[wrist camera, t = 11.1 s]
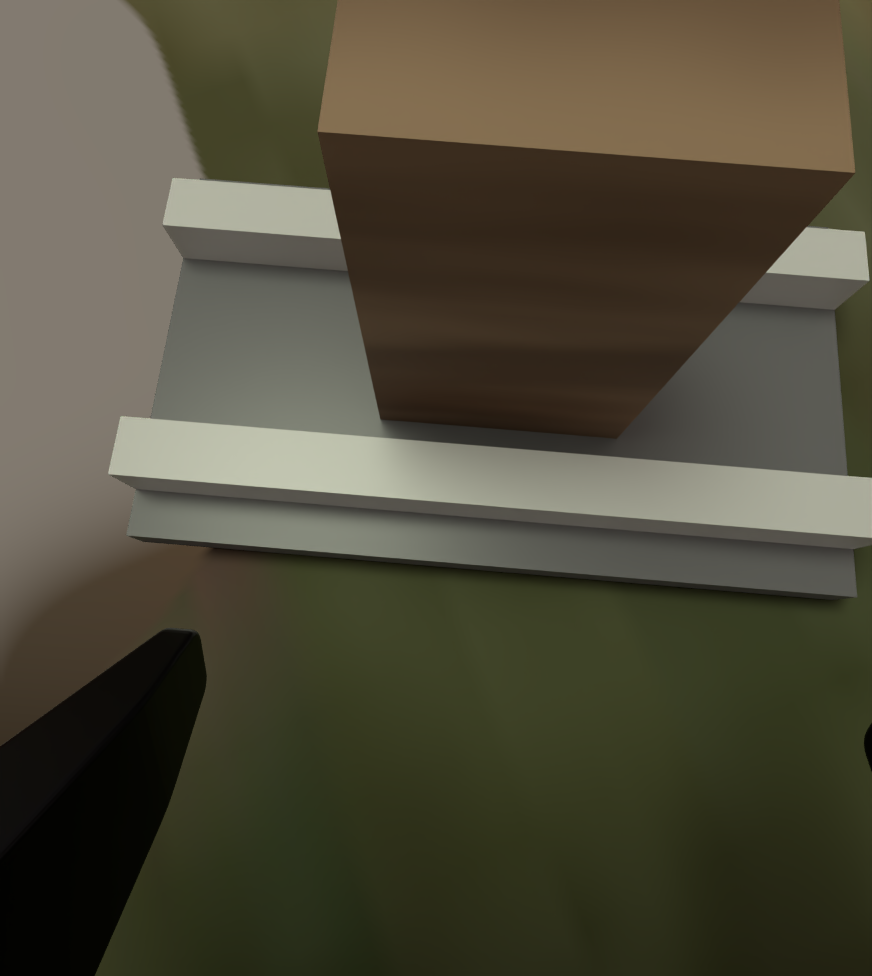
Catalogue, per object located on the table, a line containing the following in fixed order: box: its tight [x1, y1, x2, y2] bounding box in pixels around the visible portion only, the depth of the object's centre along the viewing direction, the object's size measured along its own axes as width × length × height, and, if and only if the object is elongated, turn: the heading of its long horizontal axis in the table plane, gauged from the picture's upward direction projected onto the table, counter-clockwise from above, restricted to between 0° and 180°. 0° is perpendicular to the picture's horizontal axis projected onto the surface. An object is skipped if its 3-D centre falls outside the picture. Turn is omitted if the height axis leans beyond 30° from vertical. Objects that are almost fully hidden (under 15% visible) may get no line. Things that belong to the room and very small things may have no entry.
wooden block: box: [318, 0, 855, 439], centre depth 13 cm, size 4×6×10 cm, turn 85°
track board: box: [108, 178, 872, 600], centre depth 18 cm, size 11×19×2 cm, turn 85°
